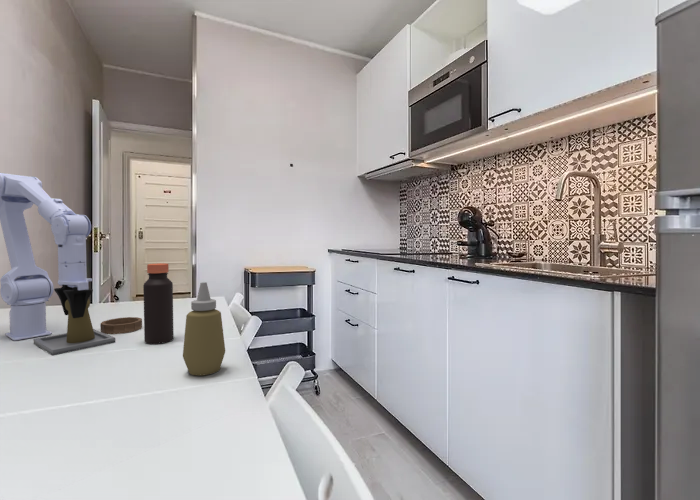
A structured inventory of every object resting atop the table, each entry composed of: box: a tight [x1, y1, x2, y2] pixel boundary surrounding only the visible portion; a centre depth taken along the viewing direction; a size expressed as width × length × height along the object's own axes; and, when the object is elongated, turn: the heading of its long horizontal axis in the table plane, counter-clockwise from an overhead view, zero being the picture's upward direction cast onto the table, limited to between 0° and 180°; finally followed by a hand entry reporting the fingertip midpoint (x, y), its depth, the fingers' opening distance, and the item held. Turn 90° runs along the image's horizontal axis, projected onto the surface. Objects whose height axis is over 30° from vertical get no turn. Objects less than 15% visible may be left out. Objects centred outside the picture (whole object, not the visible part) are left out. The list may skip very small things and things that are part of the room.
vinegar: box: [142, 262, 175, 345], centre depth 96 cm, size 7×7×20 cm
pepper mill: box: [65, 298, 95, 343], centre depth 95 cm, size 6×6×11 cm
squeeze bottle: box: [182, 281, 226, 377], centre depth 75 cm, size 8×8×18 cm
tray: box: [33, 328, 116, 356], centre depth 95 cm, size 15×13×1 cm
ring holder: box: [99, 316, 143, 335], centre depth 108 cm, size 10×10×2 cm
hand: (74, 316), depth 94 cm, fingers closed on pepper mill, 5 cm apart
